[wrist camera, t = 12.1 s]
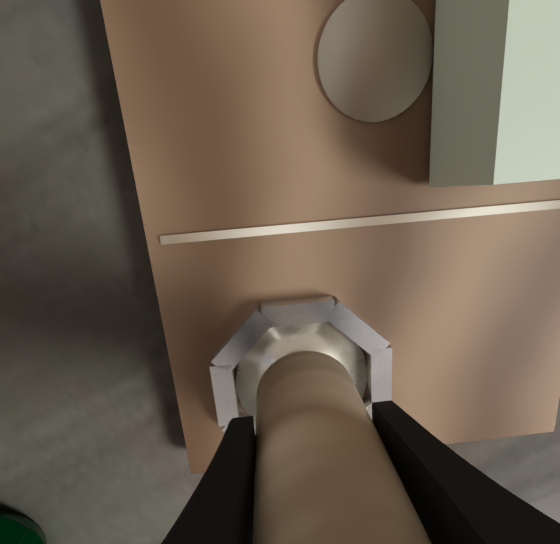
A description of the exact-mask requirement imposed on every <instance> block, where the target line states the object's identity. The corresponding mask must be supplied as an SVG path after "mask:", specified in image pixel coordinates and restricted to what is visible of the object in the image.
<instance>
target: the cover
mask: <svg viewBox="0 0 560 544" xmlns="http://www.w3.org/2000/svg"><path fill="white" fill-rule="evenodd" d="M553 179H560V0H436V9H435V36H434V64H433V91H432V119H431V146H430V174H429V187H445V186H472V185H496V184H507V183H519V182H530V181H542V180H553Z"/></svg>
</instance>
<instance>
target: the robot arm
mask: <svg viewBox="0 0 560 544" xmlns="http://www.w3.org/2000/svg"><path fill="white" fill-rule="evenodd" d="M372 421H373V423H374V426H375V428H376V430H377V432H378V434H379V436H380V438H381V440H382V442H383V444H384V446H385V448H386V450H387V452H388V454H389V456H390V458H391V461H392V463H393V465H394V467H395V469H396V471H397V473H398V475H399V477H400V479H401V481H402V483H403V485H404V487H405V489H406V491H407V493H408V496H409V498H410V500H411V502H412V504H413V506H414V508H415V510H416V512H417V514H418V516H419V518H420V520H421V522H422V524H423V526H424V528H425V531H426V533H427V535H428V537H429V539H430V541H431V543H432V544H560V523H558V522H556V521H555V520H553V519H551V518H550V517H548V516H547V515H545V514H543V513H542V512H540V511H539V510H537V509H536V508H534V507H533V506H531V505H529V504H528V503H526V502H525V501H523V500H522V499H520V498H519V497H517V496H515V495H514V494H512V493H511V492H509V491H508V490H506V489H505V488H503V487H502V486H500V485H499V484H498V483H496V482H495V481H493V480H492V479H490V478H489V477H488V476H486V475H485V474H484V473H482V472H481V471H479V470H478V469H477V468H475V467H474V466H472V465H471V464H470V463H468V462H467V461H466V460H464V459H463V458H462V457H460V456H459V455H458V454H456V453H455V452H454V451H453V450H451V449H450V448H449V447H447V446H446V445H445V444H444V443H442V442H441V441H440V440H439V439H437V438H436V437H435V436H434V435H432V434H431V433H430V432H429V431H428V430H426V429H425V428H424V427H423V426H422V425H420V424H419V423H418V422H417V421H416V420H414V419H413V418H412V417H411V416H410V415H408V414H407V413H406V412H405V411H404V410H403V409H401V408H400V407H399V406H398V405H397V404H395V403H394V402H393V401H392V400H390V401H381V402H372ZM254 470H255V429H254V421H253V416H246V417H237V418H232V419H231V420H230V422H229V424H228V426H227V429H226V431H225V433H224V436H223V438H222V440H221V442H220V444H219V446H218V448H217V450H216V453H215V455H214V457H213V458H212V460H211V462H210V464H209V466H208V468H207V470H206V472H205V473H204V475H203V477H202V479H201V481H200V483H199V484H198V486H197V488H196V489H195V491H194V493H193V494H192V496H191V498H190V499H189V501H188V503H187V504H186V506H185V508H184V509H183V511H182V513H181V514H180V516H179V517H178V519H177V521H176V522H175V524H174V525H173V527H172V528H171V530H170V531H169V533H168V534H167V536H166V537H165V539H164V540H163V542H162V543H161V544H253V508H254Z"/></svg>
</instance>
